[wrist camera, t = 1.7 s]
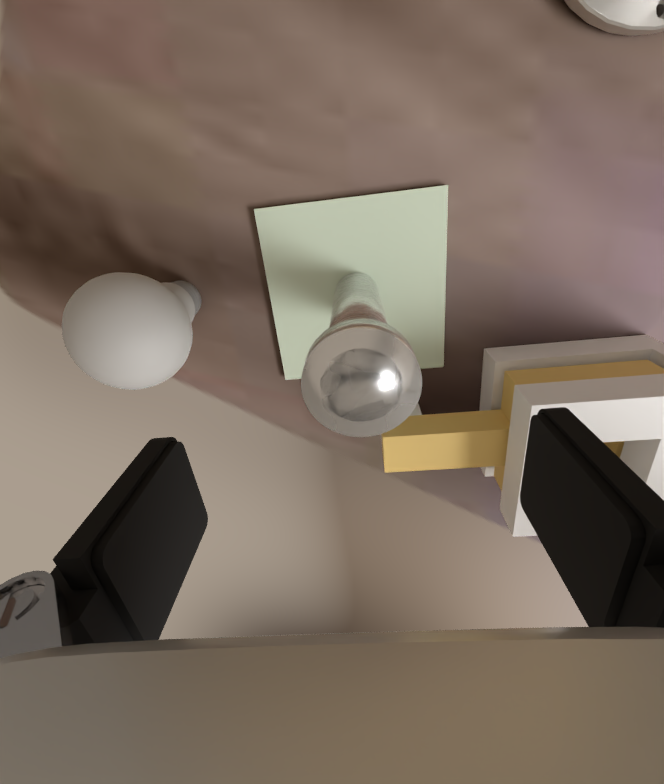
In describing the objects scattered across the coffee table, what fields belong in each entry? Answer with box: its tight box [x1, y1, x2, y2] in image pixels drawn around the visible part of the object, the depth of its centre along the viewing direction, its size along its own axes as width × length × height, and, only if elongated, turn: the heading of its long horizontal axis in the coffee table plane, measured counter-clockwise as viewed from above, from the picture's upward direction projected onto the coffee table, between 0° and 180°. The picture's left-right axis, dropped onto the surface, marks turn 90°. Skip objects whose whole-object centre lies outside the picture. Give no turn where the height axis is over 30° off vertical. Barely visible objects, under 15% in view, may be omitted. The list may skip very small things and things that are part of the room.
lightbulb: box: [62, 272, 202, 390], centre depth 23 cm, size 6×6×11 cm
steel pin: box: [301, 272, 422, 437], centre depth 20 cm, size 4×4×14 cm
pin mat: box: [254, 185, 448, 380], centre depth 27 cm, size 12×12×1 cm
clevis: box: [380, 335, 664, 537], centre depth 27 cm, size 10×19×8 cm, turn 96°
